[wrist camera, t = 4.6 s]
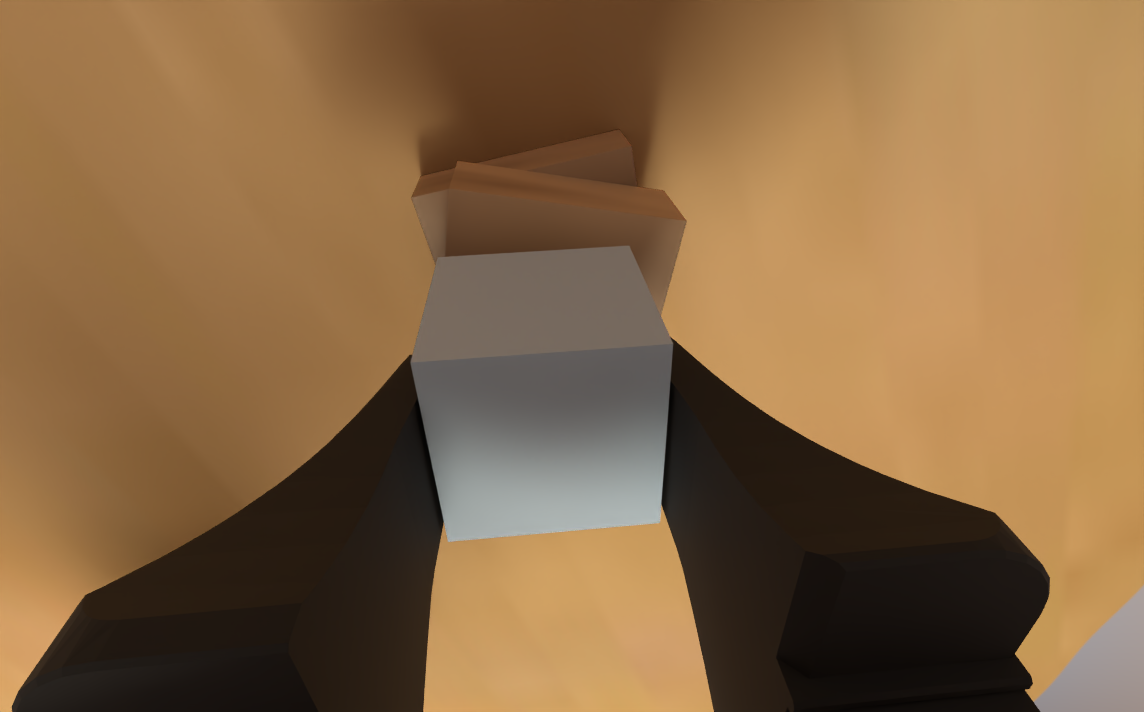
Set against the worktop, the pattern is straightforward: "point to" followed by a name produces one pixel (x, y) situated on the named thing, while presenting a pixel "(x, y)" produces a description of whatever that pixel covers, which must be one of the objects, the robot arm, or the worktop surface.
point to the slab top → (562, 218)
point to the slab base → (576, 158)
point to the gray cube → (543, 392)
